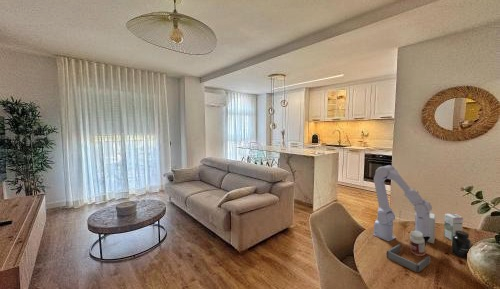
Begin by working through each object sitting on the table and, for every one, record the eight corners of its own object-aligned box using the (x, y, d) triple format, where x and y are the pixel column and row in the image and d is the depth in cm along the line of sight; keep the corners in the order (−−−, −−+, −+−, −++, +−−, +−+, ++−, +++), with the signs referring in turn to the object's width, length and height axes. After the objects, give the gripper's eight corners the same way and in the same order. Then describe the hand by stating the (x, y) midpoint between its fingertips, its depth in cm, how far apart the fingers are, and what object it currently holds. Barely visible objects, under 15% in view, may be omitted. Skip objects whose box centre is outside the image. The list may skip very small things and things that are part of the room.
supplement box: (434, 237, 127) (435, 213, 126) (434, 244, 120) (435, 218, 119) (415, 233, 133) (416, 210, 132) (414, 238, 126) (414, 214, 125)
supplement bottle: (464, 259, 106) (465, 236, 105) (448, 252, 112) (449, 230, 111) (473, 257, 108) (474, 234, 107) (457, 249, 114) (458, 228, 113)
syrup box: (462, 241, 122) (463, 217, 121) (452, 241, 123) (453, 217, 121) (453, 236, 128) (454, 213, 127) (443, 236, 128) (444, 213, 127)
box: (386, 257, 109) (386, 251, 109) (399, 250, 115) (399, 243, 115) (417, 272, 97) (418, 265, 97) (429, 263, 103) (430, 256, 103)
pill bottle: (408, 249, 115) (406, 231, 112) (418, 246, 115) (416, 228, 113) (418, 257, 108) (416, 238, 106) (428, 254, 109) (427, 235, 107)
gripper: (425, 230, 105) (424, 256, 106) (437, 223, 113) (436, 248, 114) (409, 225, 112) (408, 250, 113) (421, 219, 119) (420, 242, 120)
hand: (421, 248), depth 114 cm, fingers closed
